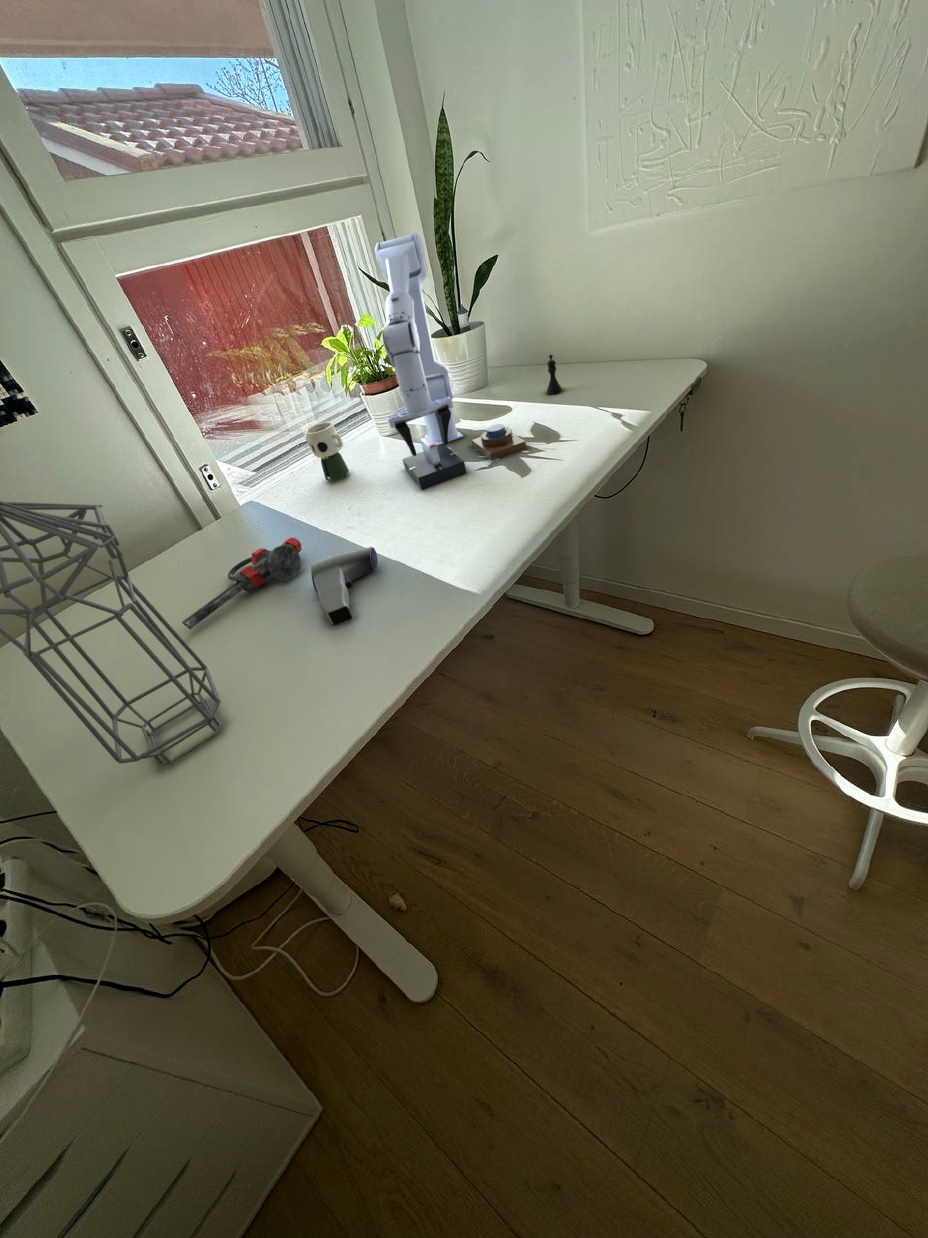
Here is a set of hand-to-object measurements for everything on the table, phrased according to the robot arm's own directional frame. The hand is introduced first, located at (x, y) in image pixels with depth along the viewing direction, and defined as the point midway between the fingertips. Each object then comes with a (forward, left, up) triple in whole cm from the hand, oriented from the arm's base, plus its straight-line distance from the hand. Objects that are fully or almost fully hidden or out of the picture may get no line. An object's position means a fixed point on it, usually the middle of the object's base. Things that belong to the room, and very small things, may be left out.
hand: (429, 448), depth 118 cm
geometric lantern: (+54, -55, -6) cm, 77 cm away
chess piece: (-26, +45, -6) cm, 52 cm away
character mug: (-19, -21, -6) cm, 29 cm away
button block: (-2, +17, -6) cm, 18 cm away
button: (-2, +17, -3) cm, 17 cm away
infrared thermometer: (+36, -27, -6) cm, 45 cm away
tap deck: (-1, 0, -6) cm, 6 cm away
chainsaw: (+20, -46, -6) cm, 51 cm away
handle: (0, 0, -3) cm, 3 cm away
